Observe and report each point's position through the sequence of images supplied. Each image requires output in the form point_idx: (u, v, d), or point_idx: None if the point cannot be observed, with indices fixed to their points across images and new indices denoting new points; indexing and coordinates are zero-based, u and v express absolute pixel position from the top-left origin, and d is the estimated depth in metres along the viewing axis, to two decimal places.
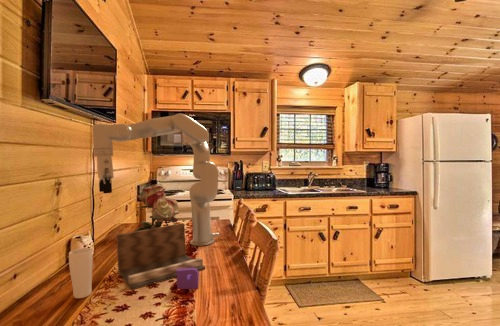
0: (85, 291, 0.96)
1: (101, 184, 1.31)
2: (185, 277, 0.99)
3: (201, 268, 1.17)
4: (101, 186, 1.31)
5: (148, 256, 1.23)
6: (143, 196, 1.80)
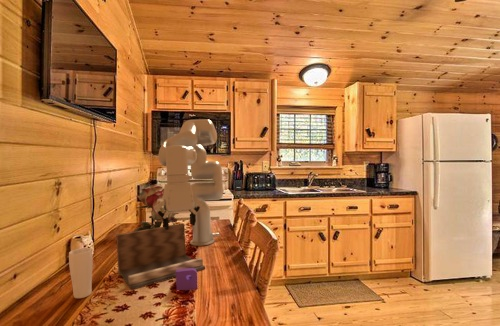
0: (85, 291, 0.96)
1: (167, 220, 1.04)
2: (184, 278, 0.99)
3: (201, 268, 1.17)
4: (167, 222, 1.04)
5: (148, 256, 1.23)
6: (143, 196, 1.80)
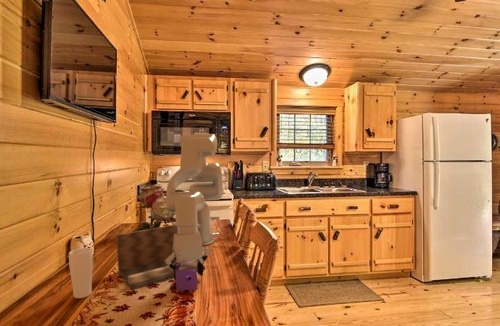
0: (85, 291, 0.96)
1: None
2: (184, 278, 0.98)
3: None
4: None
5: (148, 256, 1.23)
6: (142, 196, 1.80)
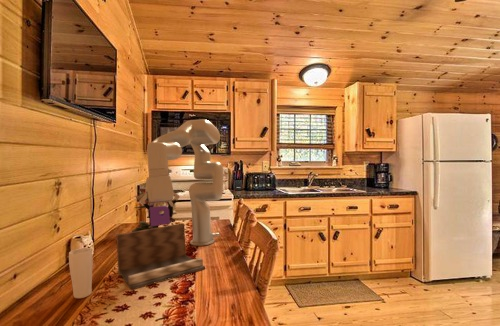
0: (85, 291, 0.96)
1: None
2: (158, 213, 1.10)
3: (201, 268, 1.17)
4: None
5: (148, 256, 1.23)
6: (141, 196, 1.80)
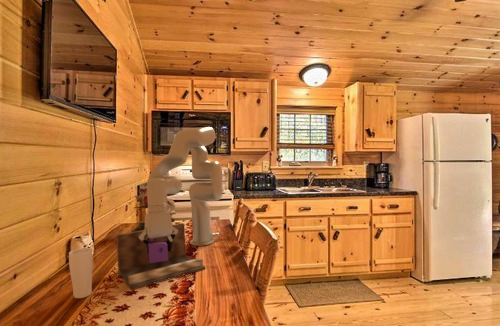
0: (85, 291, 0.96)
1: None
2: (156, 250, 1.12)
3: (201, 268, 1.17)
4: None
5: (148, 256, 1.23)
6: (140, 196, 1.80)
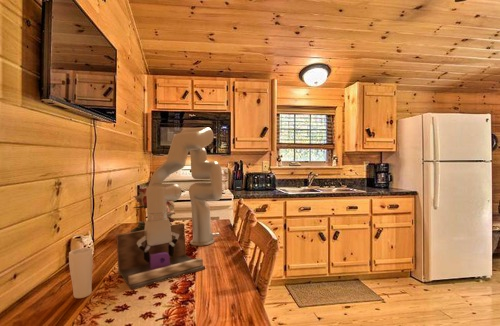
0: (85, 291, 0.96)
1: (148, 253, 1.16)
2: (158, 260, 1.13)
3: (201, 268, 1.17)
4: (148, 255, 1.16)
5: None
6: (139, 196, 1.80)
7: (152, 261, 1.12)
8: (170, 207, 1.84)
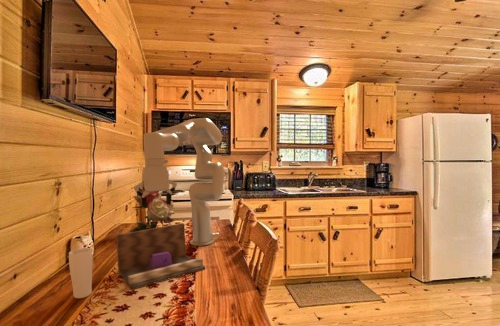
0: (85, 291, 0.96)
1: None
2: (160, 260, 1.13)
3: (201, 268, 1.17)
4: None
5: (148, 256, 1.23)
6: (138, 196, 1.80)
7: (154, 261, 1.12)
8: (169, 207, 1.84)
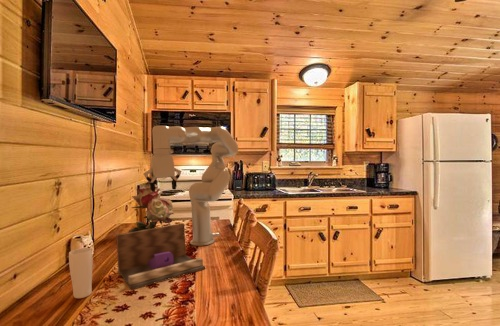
0: (85, 291, 0.96)
1: None
2: (163, 260, 1.13)
3: (201, 268, 1.17)
4: None
5: (148, 256, 1.23)
6: (137, 196, 1.80)
7: (157, 261, 1.12)
8: (168, 207, 1.84)
